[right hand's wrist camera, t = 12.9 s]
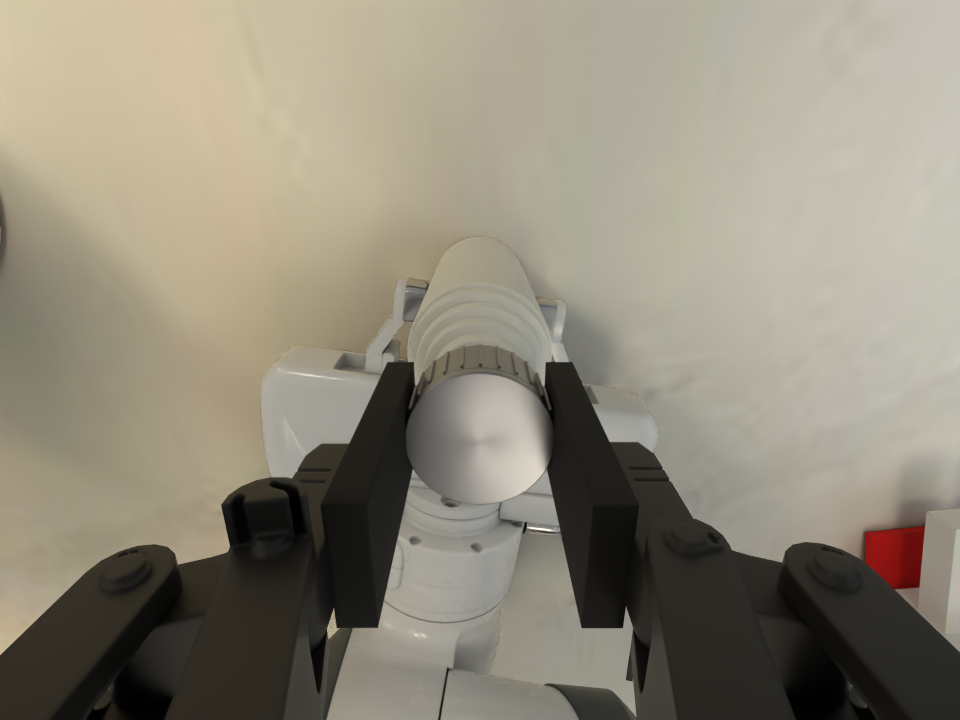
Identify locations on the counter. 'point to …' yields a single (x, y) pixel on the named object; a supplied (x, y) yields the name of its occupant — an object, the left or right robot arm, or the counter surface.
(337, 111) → the counter surface
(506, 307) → the bottle
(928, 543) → the toy
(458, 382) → the cap
